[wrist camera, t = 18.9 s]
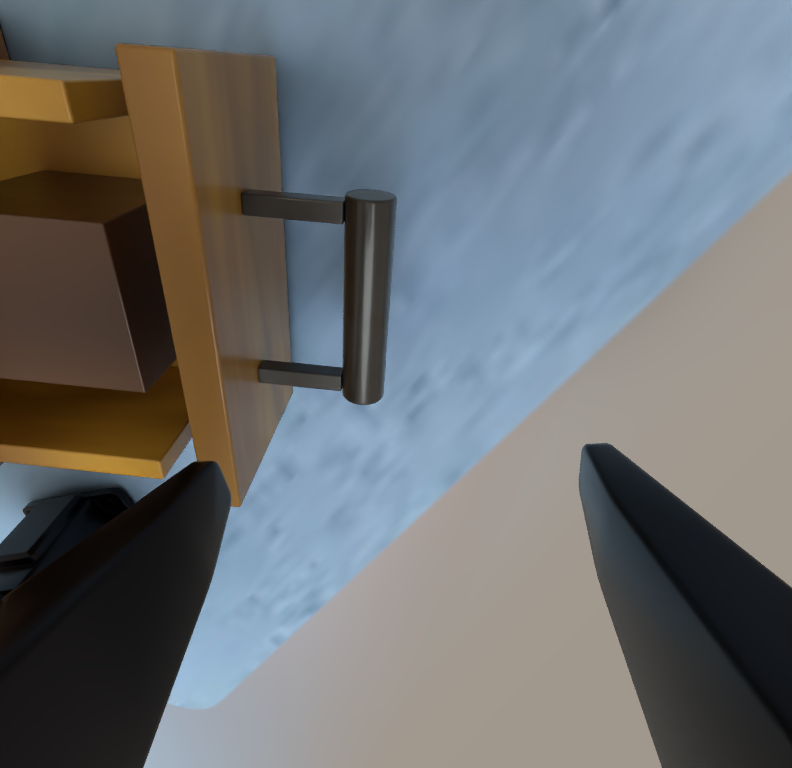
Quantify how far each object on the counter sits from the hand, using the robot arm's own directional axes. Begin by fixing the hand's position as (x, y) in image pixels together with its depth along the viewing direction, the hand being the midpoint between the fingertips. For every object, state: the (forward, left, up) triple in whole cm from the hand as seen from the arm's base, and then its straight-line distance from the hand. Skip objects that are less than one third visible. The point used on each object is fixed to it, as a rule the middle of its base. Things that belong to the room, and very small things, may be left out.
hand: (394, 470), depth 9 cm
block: (+3, +10, -10) cm, 14 cm away
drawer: (+3, +9, -11) cm, 14 cm away
